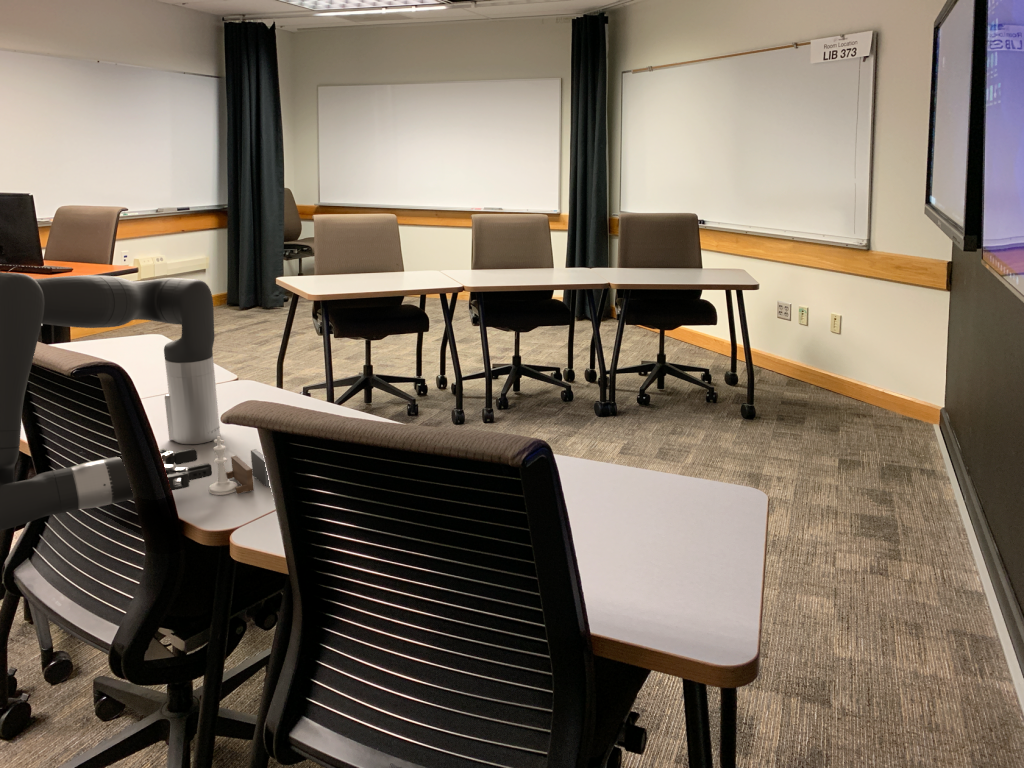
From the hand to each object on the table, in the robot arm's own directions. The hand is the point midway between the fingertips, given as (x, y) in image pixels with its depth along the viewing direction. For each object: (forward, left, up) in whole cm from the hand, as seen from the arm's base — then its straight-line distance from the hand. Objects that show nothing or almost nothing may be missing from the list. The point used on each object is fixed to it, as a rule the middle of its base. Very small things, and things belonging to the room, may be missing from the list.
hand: (203, 461), depth 154 cm
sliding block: (+4, +5, -6) cm, 9 cm away
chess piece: (+2, +2, -6) cm, 7 cm away
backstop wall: (+7, +8, -6) cm, 12 cm away
